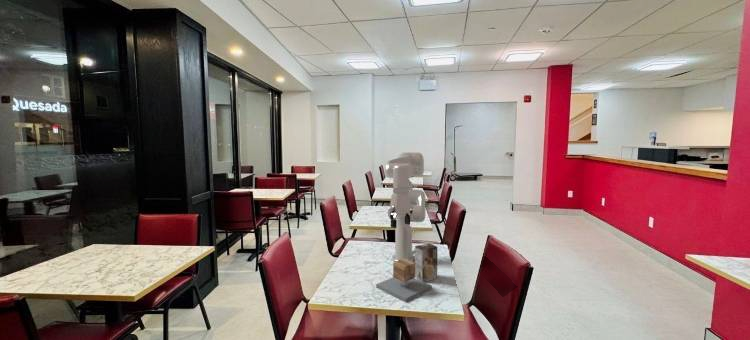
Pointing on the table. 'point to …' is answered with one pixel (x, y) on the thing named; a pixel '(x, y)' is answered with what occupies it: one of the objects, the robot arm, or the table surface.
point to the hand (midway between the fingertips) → (400, 225)
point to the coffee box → (426, 262)
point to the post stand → (404, 288)
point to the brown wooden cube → (404, 270)
